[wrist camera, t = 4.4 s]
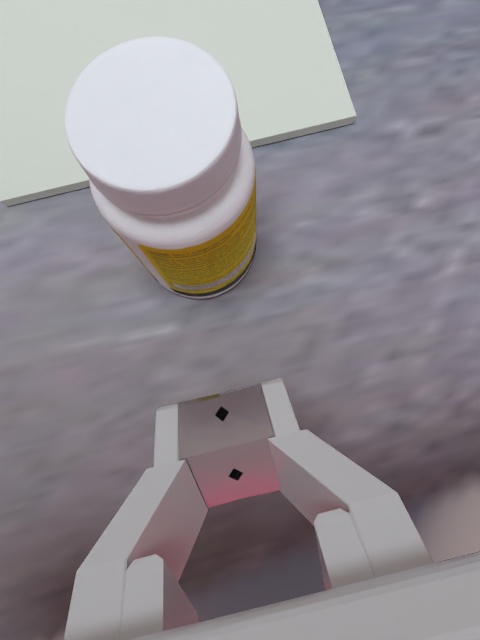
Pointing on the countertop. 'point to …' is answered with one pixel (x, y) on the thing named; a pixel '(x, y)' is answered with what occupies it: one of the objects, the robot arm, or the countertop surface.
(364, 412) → the countertop surface
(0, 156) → the rubber mat
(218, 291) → the supplement bottle
